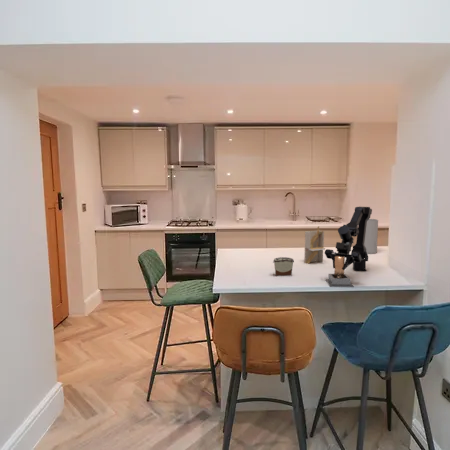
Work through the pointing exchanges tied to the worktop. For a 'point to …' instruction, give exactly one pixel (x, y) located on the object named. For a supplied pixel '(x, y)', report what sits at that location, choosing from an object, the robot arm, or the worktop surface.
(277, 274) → the food container
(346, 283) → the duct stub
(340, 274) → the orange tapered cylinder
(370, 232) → the grey tall block
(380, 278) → the worktop surface
